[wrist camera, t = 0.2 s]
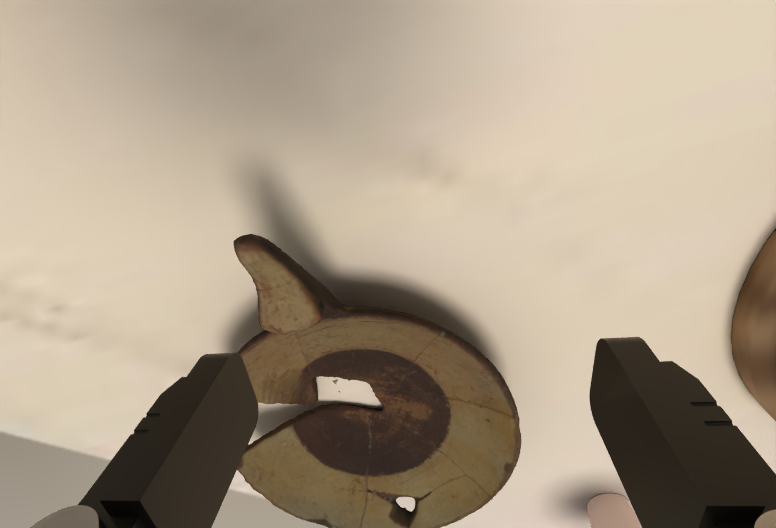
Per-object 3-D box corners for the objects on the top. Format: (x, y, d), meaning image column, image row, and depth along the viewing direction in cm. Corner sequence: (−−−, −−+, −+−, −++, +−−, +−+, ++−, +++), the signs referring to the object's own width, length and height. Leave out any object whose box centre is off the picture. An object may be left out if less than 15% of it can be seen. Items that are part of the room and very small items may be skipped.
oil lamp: (252, 469, 41) (219, 554, 35) (214, 176, 26) (143, 228, 19) (478, 496, 41) (488, 588, 34) (572, 214, 26) (625, 282, 19)
